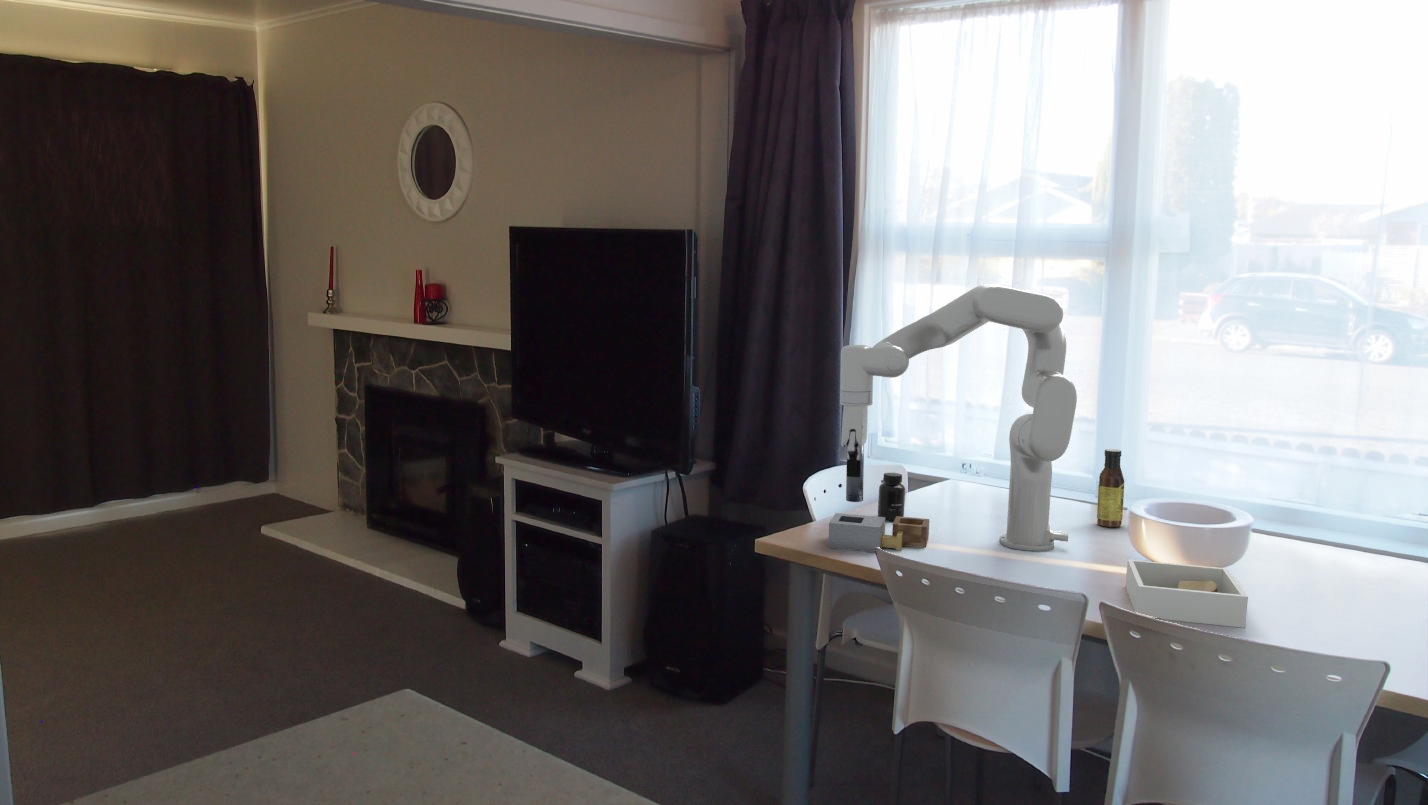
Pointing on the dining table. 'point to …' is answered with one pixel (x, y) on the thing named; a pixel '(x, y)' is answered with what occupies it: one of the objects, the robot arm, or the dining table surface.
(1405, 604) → the dining table surface
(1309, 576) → the dining table surface
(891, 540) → the tan blocky piece
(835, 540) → the socket block
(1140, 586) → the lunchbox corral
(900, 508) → the supplement bottle
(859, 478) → the grey rounded bar
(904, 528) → the wooden open box
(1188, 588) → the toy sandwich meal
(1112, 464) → the sauce bottle
